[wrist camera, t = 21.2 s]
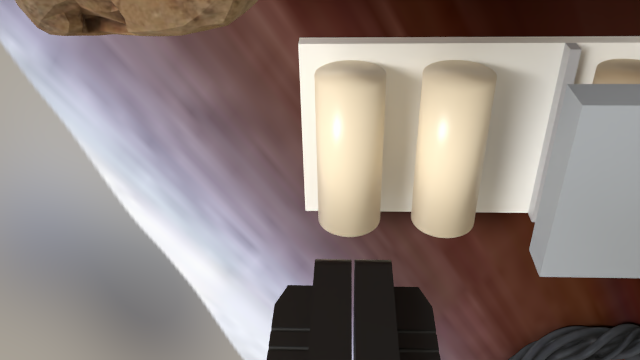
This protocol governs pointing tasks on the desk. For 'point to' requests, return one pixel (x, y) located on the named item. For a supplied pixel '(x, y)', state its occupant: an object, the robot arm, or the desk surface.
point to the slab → (592, 187)
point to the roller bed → (506, 113)
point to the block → (132, 16)
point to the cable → (585, 344)
